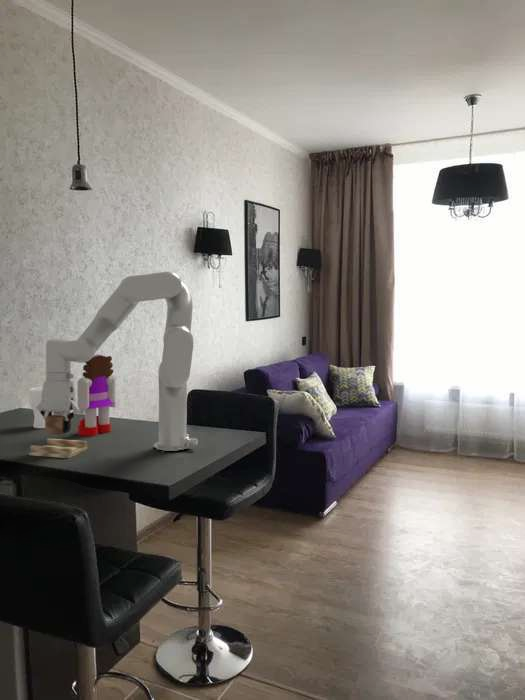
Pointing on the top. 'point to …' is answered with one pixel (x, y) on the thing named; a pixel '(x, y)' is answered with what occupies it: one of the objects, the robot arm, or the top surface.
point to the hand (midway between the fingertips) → (57, 430)
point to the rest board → (59, 448)
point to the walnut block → (55, 424)
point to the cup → (34, 400)
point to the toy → (96, 395)
